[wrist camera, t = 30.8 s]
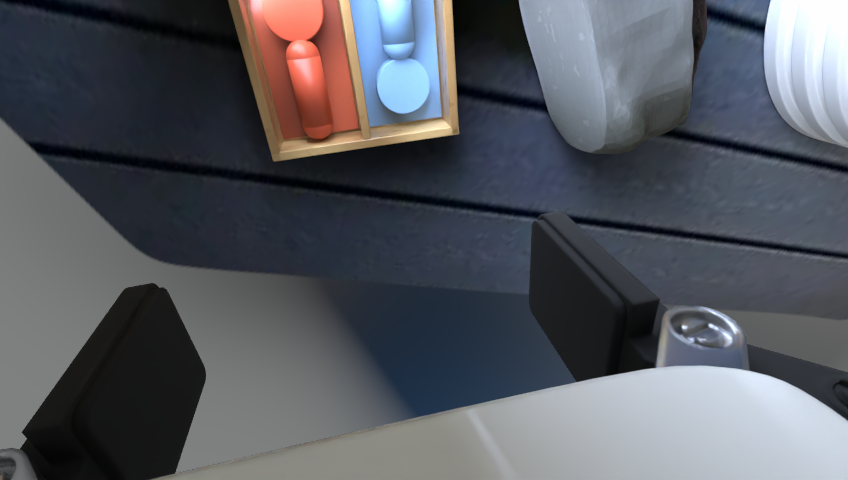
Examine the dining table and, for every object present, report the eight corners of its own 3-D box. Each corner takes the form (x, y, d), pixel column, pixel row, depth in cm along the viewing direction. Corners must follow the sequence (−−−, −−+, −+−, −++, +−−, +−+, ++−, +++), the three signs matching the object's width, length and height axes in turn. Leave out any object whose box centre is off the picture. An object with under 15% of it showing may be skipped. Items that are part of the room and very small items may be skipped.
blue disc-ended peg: (428, 106, 32) (434, 112, 31) (379, 112, 32) (382, 119, 30) (415, -56, 27) (421, -61, 25) (356, -51, 27) (358, -55, 25)
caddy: (278, 148, 33) (273, 162, 30) (221, -62, 26) (207, -70, 23) (448, 123, 34) (459, 134, 31) (435, -81, 28) (447, -90, 25)
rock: (676, 104, 37) (753, 127, 30) (557, 160, 38) (607, 195, 31) (651, -157, 28) (755, -210, 21) (495, -79, 28) (546, -105, 22)
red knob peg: (255, -23, 27) (250, -25, 25) (317, -29, 27) (316, -31, 25) (295, 138, 32) (293, 146, 30) (346, 130, 32) (347, 138, 30)
